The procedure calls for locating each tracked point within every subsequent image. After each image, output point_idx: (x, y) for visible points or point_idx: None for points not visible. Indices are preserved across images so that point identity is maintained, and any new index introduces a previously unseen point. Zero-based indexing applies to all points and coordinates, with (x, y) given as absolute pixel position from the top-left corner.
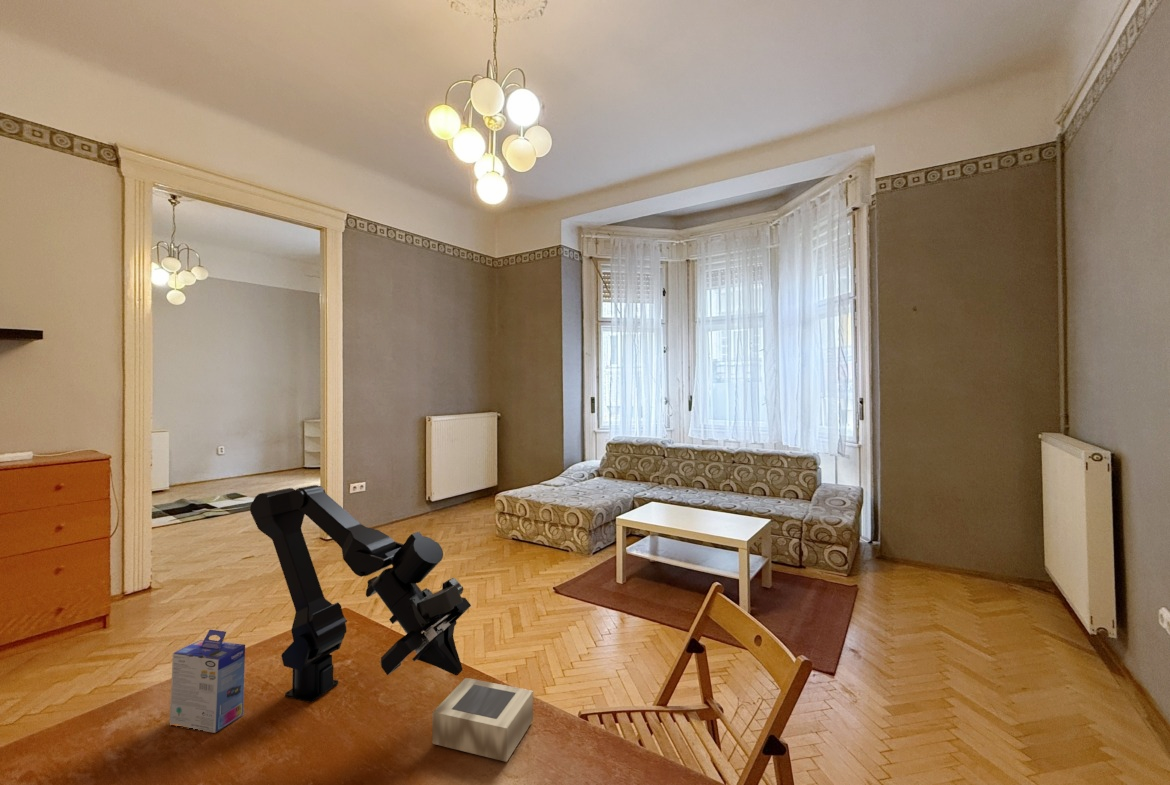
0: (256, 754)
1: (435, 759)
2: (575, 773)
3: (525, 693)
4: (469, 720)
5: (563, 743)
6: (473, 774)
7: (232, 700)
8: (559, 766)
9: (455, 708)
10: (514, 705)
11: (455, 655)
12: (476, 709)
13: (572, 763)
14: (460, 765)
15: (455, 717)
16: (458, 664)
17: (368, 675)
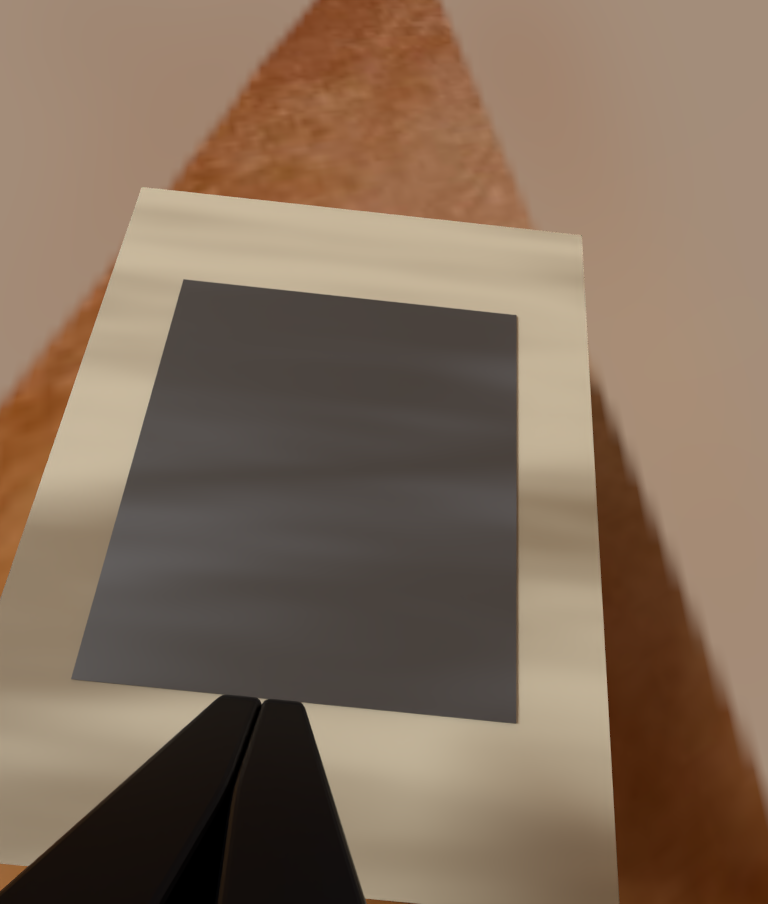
0: None
1: (623, 776)
2: (482, 125)
3: (181, 222)
4: (594, 495)
5: (322, 183)
6: (638, 495)
7: None
8: (463, 176)
9: (502, 684)
10: (341, 251)
11: (123, 894)
12: (459, 490)
13: (433, 140)
14: (609, 591)
15: (603, 628)
16: (234, 761)
17: None
